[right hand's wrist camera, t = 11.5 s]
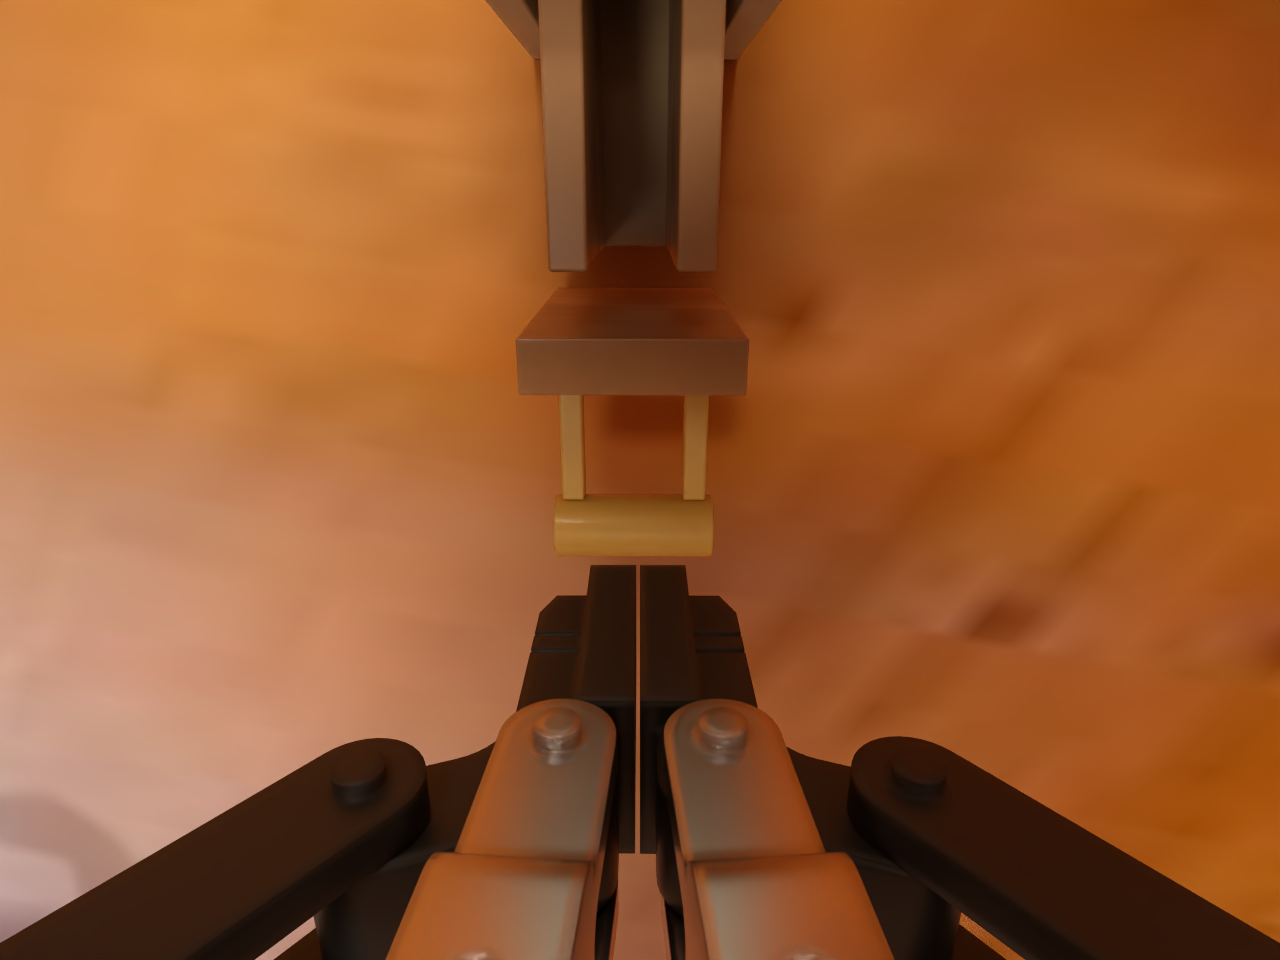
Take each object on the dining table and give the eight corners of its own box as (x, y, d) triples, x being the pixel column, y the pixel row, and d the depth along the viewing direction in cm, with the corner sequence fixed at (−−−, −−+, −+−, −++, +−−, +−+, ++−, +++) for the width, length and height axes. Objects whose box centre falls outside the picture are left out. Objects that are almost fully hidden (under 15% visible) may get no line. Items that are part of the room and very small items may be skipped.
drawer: (705, 484, 26) (735, 618, 18) (564, 483, 26) (530, 617, 18) (735, -394, 19) (811, -857, 10) (534, -394, 19) (450, -858, 10)
